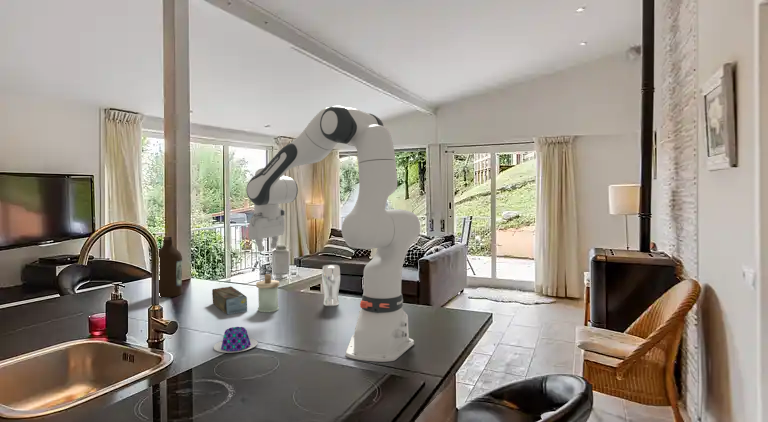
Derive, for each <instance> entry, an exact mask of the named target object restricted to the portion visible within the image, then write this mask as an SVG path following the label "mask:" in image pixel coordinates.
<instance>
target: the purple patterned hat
mask: <svg viewBox="0 0 768 422" xmlns="http://www.w3.org/2000/svg"><path fill="white" fill-rule="evenodd" d="M257 345H258V340H256V339H254V338H251V337H249V333H248V330H247V329H246V327H243V326H232V327H230V328H227V329H225V330H224V333H223V337H222V340H221V341H219V342H217V343H215V344H214V346H213V349H214V351H217V352H219V353H228V354H229V353H231V354H232V353H239V352H240V353H241V352H244V351H247V350H248V351H249V350H250V349H253V348H255V347H256V346H257Z"/></svg>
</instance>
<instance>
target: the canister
mask: <svg viewBox="0 0 768 422" xmlns="http://www.w3.org/2000/svg"><path fill="white" fill-rule="evenodd" d="M257 292H258V293H257V294H258V295H257V296H258V307H257V311H258V312H260V313H274V312H277V311H279V310H280V306H279V286H278V287H274V288H258V291H257Z"/></svg>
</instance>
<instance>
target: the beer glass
mask: <svg viewBox="0 0 768 422" xmlns="http://www.w3.org/2000/svg"><path fill="white" fill-rule="evenodd" d="M321 276H322V277H321V279H322V280H321V281H322V286H323V287H322V288H323V292H324V299H323V306H325V307H336V306H339V305H340V300H339V290H340V284H341V269H340V265H338V264H325V265H322V271H321Z"/></svg>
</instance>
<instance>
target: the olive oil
mask: <svg viewBox="0 0 768 422" xmlns="http://www.w3.org/2000/svg"><path fill="white" fill-rule="evenodd" d="M158 251H159V257H160V280H159V293H160V296H161V297H160V298H162V297H167V298H174V297H179V296H181V295H182V291H183V289H182V287H183V286H182V285H183V283H182V282H183V279H182V277H183V256H182V253H181V252H180V251H179V250H178V249H177V248H176V247H175V246H174V245H173V236H170V235H167V236H166V235H165V236H163V246H162V247H160V249H159V250H158Z"/></svg>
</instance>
